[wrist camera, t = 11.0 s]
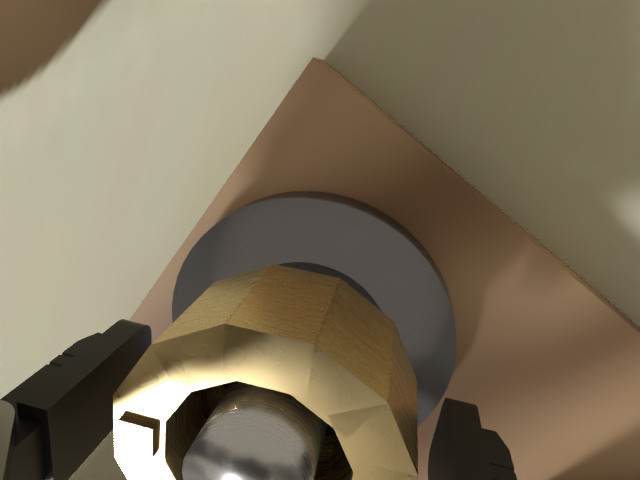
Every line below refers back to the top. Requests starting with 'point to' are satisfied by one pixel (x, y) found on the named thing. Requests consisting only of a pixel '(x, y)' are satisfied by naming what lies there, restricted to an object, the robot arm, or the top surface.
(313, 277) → the brass ring
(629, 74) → the top surface
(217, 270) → the graphite hub
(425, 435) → the walnut board
